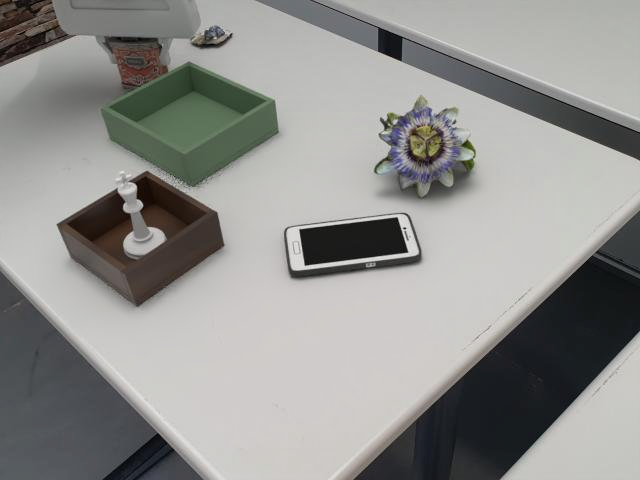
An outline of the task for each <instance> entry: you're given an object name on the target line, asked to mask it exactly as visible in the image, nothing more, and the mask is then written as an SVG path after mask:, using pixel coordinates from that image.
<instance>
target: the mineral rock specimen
mask: <svg viewBox="0 0 640 480" xmlns="http://www.w3.org/2000/svg"><path fill="white" fill-rule="evenodd" d="M219 26H220V25H213V26H209V27H210V28H209V30H206V29H204V30H205V31H204V35H201V34H202V33H203V32H201V31H198V33H196V34H195V35H194V36H193V37H192V38H191V39H189V41H190V42H191V43H192V44H194V45H196V44H197V45H199V46H201V45H204V44H205V45H210V44H214V45H218V44H221V42H223V41H225V40H226V39H227V38H229V37H230V36H228V35H227V34H225V32H224V31H223V29H221V28H220V27H219Z"/></svg>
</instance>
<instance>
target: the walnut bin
mask: <svg viewBox="0 0 640 480" xmlns="http://www.w3.org/2000/svg"><path fill="white" fill-rule="evenodd" d="M127 182H130V183H134V184H135V185H136V186H137V194H136V196H137V198H136V199H137V200H140V201H141V202H142V203H143V207H142V209H141V210H140V213H141V216H142V218H143V220H144V222H145V224H146V226H147V227H154V228H157V229H159V230H161V231H162V232H163V233H164V234H165V237H166V238H167V240H166V241H165V242H163V243H162V244H160V245H159V246H157V247H156V248H154V249H153V250H151V251H150V252H148V253H147V254H145V255H144V256H142V257H141V258H139V259H138V260H137V259H132V258H130V257H128V256H127V255H126V254H125V252H124V247H123V242H124V239H125V238H126V236H127V235H128V234H130V233H131V232H132V231H133V225H132V219H131V214H130V213H127V212H125V211H124V210H123V205H124V204H125V200H124V199H123V198H122V196H120V194H119V193H118V187H116V188H115V189H113V190H111V191H109V192H108V193H106V194H105V195H103V196H101V197H100V198H98V199H96V200H94V201H93V202H91V203H89V204H88V205H86V206H85V207H82V208H81V209H79V210H78V211H76V212H74V213H73V214H71V215H69V216H68V217H65V218H64V219H62V220H61V221H59V222H57V223H56V227H57V229H58V232H59V234H60V236H61V238H62V240H63V243H64V245H65V247H66V249H67V252H68V254H69V256H70V258H72V259H73V260H74V261H75V262H77V263H78V264H80V265H81V266H82V267H84V268H85V269H86V270H87V271H88V272H90V273H92V274H93V275H94V276H96V277H97V278H98V279H100V280H101V281H102V282H103V283H104V284H107V286H108V287H110V288H111V289H113V290H114V291H116V292H117V293H118V294H120V295H121V296H122V297H124V298H125V299H126V300H127V301H129V302H130V303H131V304H133V305H134V306H135V307H139V306H140V305H142V304H143V303H144V302H146V301H148V299H150V298H152V297H153V296H154V295H156V294H158V293H159V292H160V291H161V290H163V289H164V288H166V287H167V286H169V285H170V284H171V283H173V282H174V281H176V280H177V279H178V278H180V277H182V276H183V275H184V274H186V273H187V272H189V271H190V270H191V269H193V268H194V267H196V266H197V265H198V264H200V263H201V262H202V261H204V260H206V259H207V258H208V257H210V256H211V255H213V254H214V253H215V252H217V251H218V250H220V249H221V248H222V247H224V246H225V241H224V236H223V231H222V228H221V222H220V217H219V213H218V211H216V210H214V209H212V208H211V207H209V206H207V205H206V204H204V203H202V202H201V201H200V200H197V199H196V198H194V197H192V196H191V195H189V194H187V193H185V192H184V191H182V190H180V189H179V188H177V187H175V186H174V185H172V184H171V183H169V182H168V181H165V180H164V179H161V177H159V176H157V175H156V174H153V173H152V172H150V171H149V170H144V171H143V172H142V173H139V174H138V175H137V176H135V177H133V179H132V180H130V181H127Z"/></svg>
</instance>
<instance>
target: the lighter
mask: <svg viewBox="0 0 640 480" xmlns="http://www.w3.org/2000/svg"><path fill="white" fill-rule="evenodd" d="M108 42H109V45H110V47H112V51H113V53H114V55H115V58H116V62H117V64H116V67H117V70H118V73H119V75H120V76H119V77H120V79H121V82H120V83H121V86H122V89H123V90H124V91H126V92H131V91H133V90H135V89H137V88H139V87H141V86H142V85H144V84H146V83H148V82H150V81H152V80H154V79H156V78H158V77H160V76H162V75H164V74H166V73H167V72H169V68H168V67H169V66H162V65H161V61H160V58H159V55H160V54H161V50H162V47H163V44H162V45H161V44H159V42H158V38H145V37H115V36H110V37H109V39H108Z"/></svg>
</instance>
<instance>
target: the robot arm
mask: <svg viewBox="0 0 640 480" xmlns="http://www.w3.org/2000/svg"><path fill="white" fill-rule="evenodd" d="M51 3H52V7H53V10H54V14H55V16H56V17H55V18H56V20H57V22H58V25H59V27H60V29H61V30H62V31H63V32H65V34H67V35H68V36H83V37H85V36H88V37H95V40H96V43H97V44H98V46H100V48H101V49H102V50H104V52H105V53H106V54H107V55H108V58H109V61H110V64H112V65H117V62H116V58H115V55H114V53H113V51H112V47H110V45H109V42H108V39H109V37H111V36H115V37H145V38H158V42H159V44H161V45H162V50H161V54H160V55H159V58H160V61H161V65H162V66H167V67H169V65H170V64H171V61H172V59H171V55H170V48H171V46H172V43H173V40H174V39H175V40H176V39H177V40H178V39H181V40H190V39H191V38H192V37H194V36H195V34H197V32H199V29H200V27H201V24H202V20H201V15H200V12H199V8H198V5H197V1H196V0H51Z"/></svg>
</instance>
